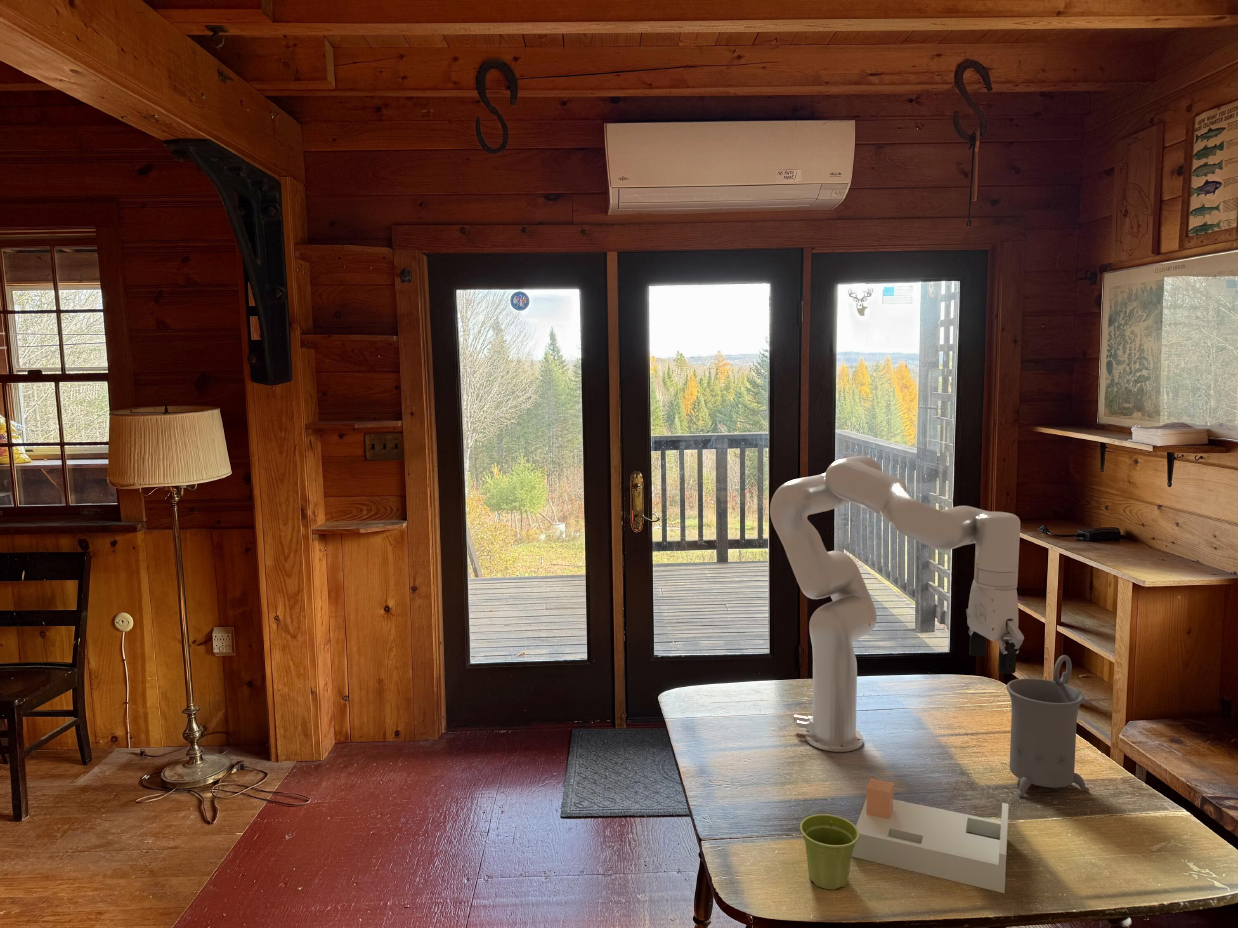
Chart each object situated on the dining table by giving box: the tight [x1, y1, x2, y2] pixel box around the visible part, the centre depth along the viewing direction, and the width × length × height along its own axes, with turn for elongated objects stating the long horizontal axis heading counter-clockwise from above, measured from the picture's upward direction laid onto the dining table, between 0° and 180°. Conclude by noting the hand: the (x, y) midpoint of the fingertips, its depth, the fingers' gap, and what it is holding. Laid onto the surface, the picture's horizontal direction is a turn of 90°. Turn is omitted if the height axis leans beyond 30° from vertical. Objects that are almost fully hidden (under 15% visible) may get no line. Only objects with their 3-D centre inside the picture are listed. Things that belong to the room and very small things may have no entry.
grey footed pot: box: [1005, 654, 1090, 798], centre depth 165 cm, size 19×15×25 cm
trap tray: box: [851, 797, 1009, 894], centre depth 144 cm, size 24×17×6 cm
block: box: [866, 778, 894, 819], centre depth 151 cm, size 4×4×5 cm
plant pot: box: [799, 813, 859, 891], centre depth 136 cm, size 9×9×9 cm
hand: (991, 663), depth 160 cm, fingers open, 9 cm apart
